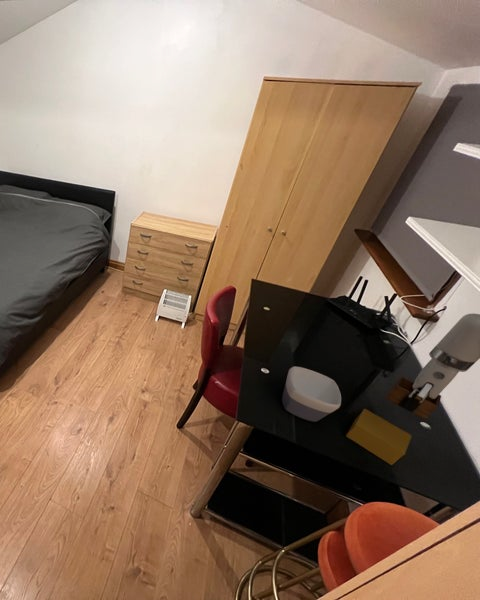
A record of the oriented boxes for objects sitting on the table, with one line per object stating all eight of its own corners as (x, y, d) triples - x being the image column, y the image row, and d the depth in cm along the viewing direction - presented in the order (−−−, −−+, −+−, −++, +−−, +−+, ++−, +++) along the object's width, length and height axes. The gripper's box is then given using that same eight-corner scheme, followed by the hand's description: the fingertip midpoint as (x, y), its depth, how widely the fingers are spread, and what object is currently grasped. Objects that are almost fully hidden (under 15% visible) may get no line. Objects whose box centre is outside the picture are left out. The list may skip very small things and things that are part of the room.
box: (399, 447, 101) (411, 435, 98) (391, 466, 95) (404, 454, 92) (354, 419, 109) (364, 408, 105) (345, 435, 103) (355, 424, 100)
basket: (428, 408, 93) (442, 395, 90) (424, 420, 89) (438, 407, 86) (390, 388, 99) (401, 375, 96) (384, 398, 95) (396, 385, 92)
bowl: (274, 412, 108) (289, 390, 102) (275, 382, 120) (288, 361, 114) (327, 433, 103) (345, 411, 97) (322, 400, 115) (339, 379, 108)
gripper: (467, 380, 77) (418, 426, 87) (474, 352, 86) (429, 396, 96) (426, 362, 82) (384, 407, 91) (437, 337, 91) (398, 381, 101)
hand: (408, 401), depth 94 cm, fingers closed on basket, 6 cm apart
